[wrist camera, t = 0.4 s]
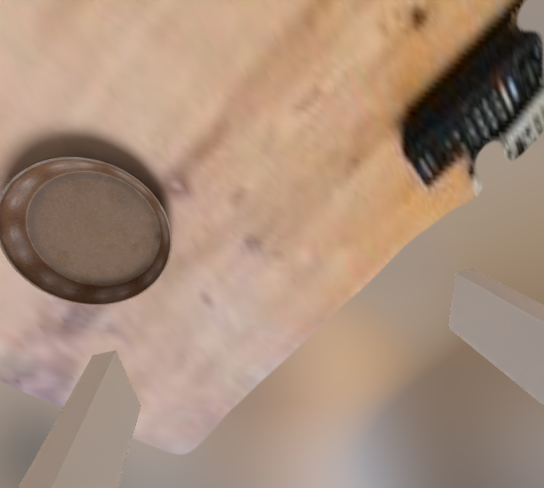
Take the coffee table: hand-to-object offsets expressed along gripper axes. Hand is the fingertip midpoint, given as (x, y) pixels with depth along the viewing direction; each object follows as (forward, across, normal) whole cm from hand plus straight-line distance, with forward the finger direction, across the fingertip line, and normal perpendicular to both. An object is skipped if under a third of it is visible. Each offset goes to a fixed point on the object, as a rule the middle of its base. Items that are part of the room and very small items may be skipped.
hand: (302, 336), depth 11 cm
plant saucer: (+28, -18, -1) cm, 33 cm away
